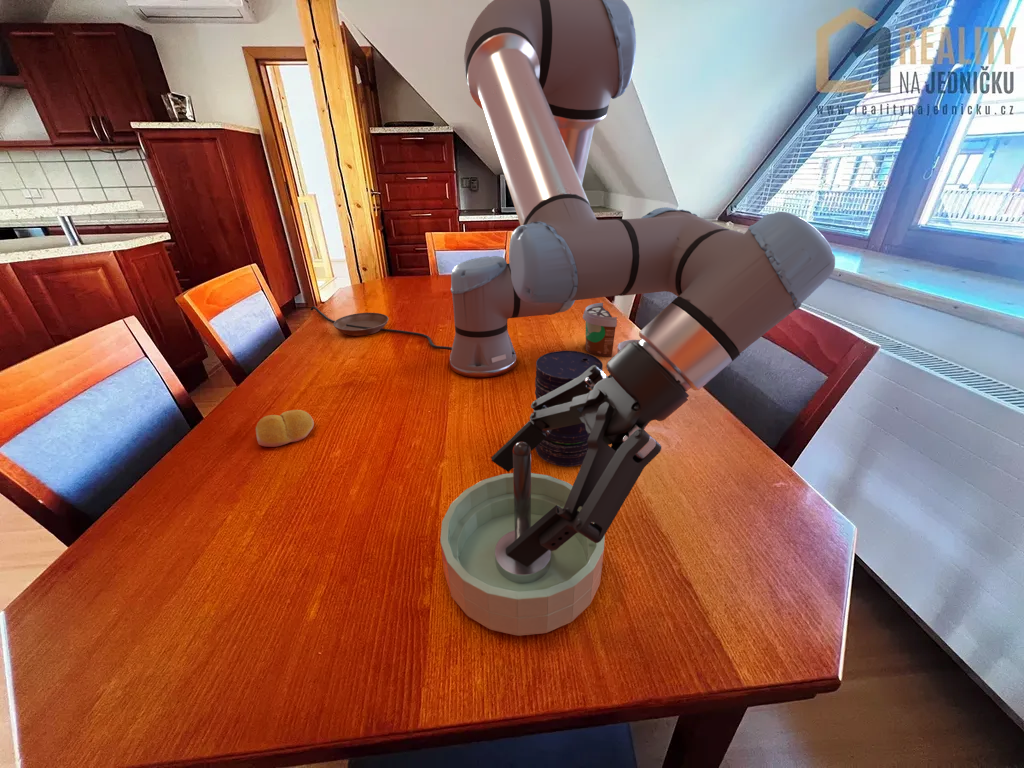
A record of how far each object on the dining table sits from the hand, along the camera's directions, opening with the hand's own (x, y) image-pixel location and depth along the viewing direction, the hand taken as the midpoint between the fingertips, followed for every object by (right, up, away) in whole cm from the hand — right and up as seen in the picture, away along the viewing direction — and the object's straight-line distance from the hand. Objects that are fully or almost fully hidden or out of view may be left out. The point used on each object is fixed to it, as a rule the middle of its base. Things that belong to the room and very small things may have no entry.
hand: (506, 505), depth 45 cm
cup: (+25, +11, +39) cm, 47 cm away
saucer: (-42, +28, +76) cm, 91 cm away
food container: (+21, +21, +59) cm, 66 cm away
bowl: (+2, -8, +4) cm, 9 cm away
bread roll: (-39, +4, +29) cm, 48 cm away
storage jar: (+9, +2, +24) cm, 26 cm away
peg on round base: (+2, -7, +4) cm, 9 cm away
